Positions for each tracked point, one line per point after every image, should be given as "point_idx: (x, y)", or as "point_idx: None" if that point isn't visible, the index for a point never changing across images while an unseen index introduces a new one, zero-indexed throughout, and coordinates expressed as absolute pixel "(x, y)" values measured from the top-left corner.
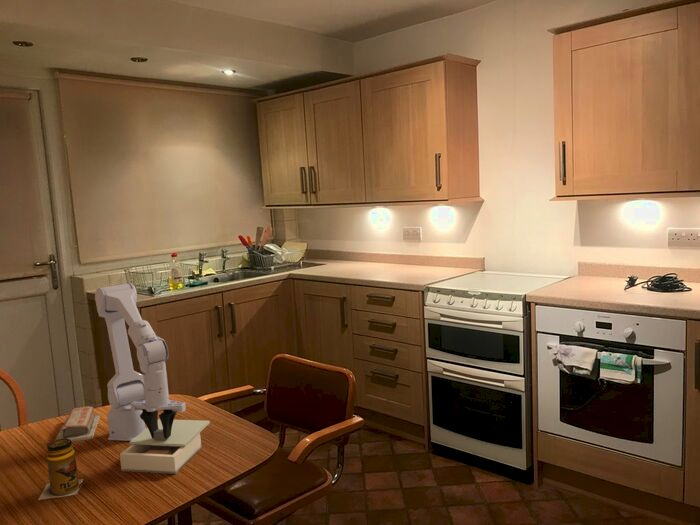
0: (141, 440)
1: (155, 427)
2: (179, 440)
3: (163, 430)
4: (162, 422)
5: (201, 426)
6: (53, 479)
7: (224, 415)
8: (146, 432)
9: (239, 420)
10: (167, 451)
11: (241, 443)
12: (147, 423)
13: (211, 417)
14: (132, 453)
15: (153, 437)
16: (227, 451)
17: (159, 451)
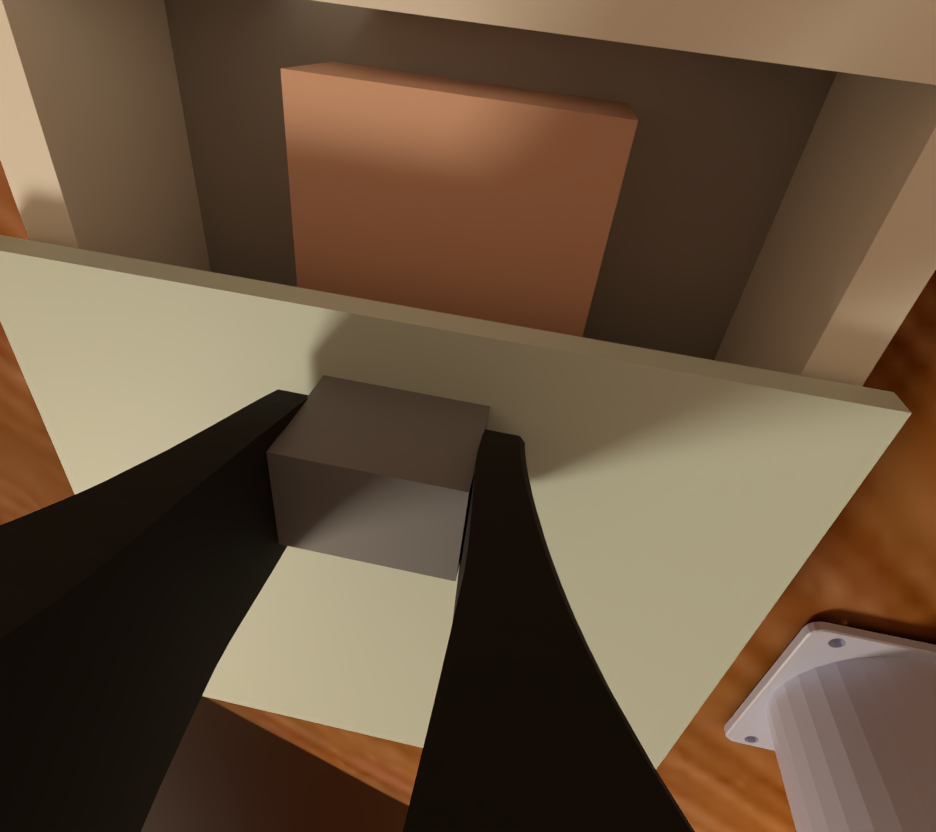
0: (702, 434)
1: (457, 598)
2: (132, 368)
3: (210, 463)
4: (31, 590)
5: None
6: None
7: (334, 754)
8: (690, 619)
9: (222, 701)
10: (318, 270)
11: (5, 478)
12: (525, 656)
13: (394, 754)
14: (788, 31)
15: (491, 437)
16: (2, 384)
17: (423, 279)
